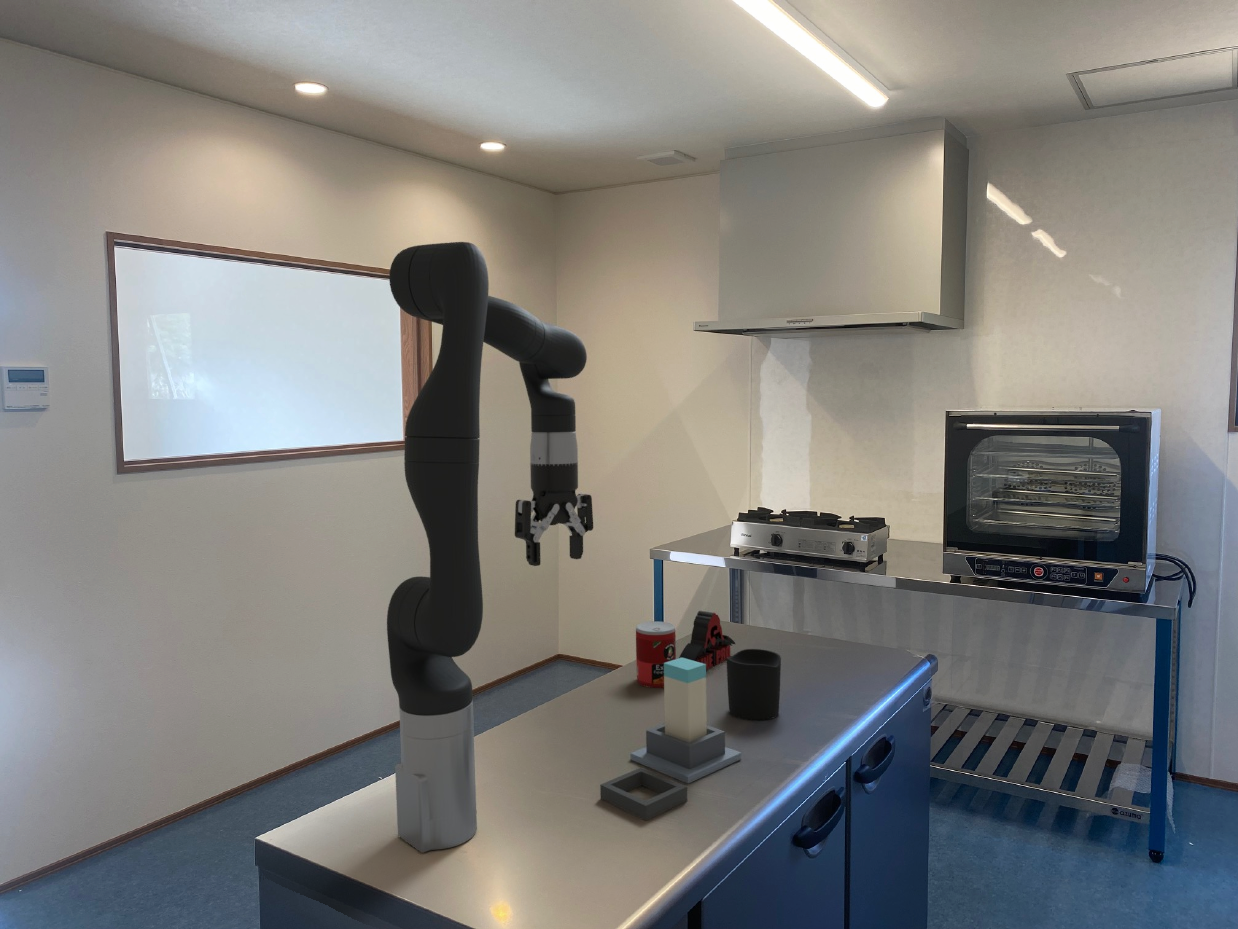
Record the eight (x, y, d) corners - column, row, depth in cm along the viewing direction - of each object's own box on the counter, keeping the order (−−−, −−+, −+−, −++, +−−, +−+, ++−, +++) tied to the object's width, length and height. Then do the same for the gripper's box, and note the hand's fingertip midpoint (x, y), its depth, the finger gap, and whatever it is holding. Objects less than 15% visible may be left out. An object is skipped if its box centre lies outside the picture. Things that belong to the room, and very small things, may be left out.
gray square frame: (646, 820, 117) (645, 805, 116) (600, 798, 123) (600, 784, 123) (687, 800, 122) (686, 786, 122) (641, 780, 129) (641, 767, 128)
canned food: (656, 691, 167) (655, 634, 166) (628, 681, 173) (627, 626, 172) (684, 681, 172) (684, 626, 171) (656, 672, 178) (655, 619, 177)
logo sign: (691, 678, 174) (690, 622, 173) (676, 675, 176) (676, 620, 175) (735, 655, 189) (735, 604, 188) (721, 652, 191) (721, 602, 190)
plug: (689, 761, 132) (687, 670, 131) (665, 752, 136) (663, 663, 135) (706, 753, 135) (705, 664, 134) (683, 744, 139) (681, 657, 138)
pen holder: (788, 720, 151) (788, 662, 150) (735, 724, 150) (735, 666, 149) (770, 701, 160) (770, 647, 160) (720, 705, 159) (719, 650, 158)
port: (688, 783, 127) (687, 753, 127) (630, 759, 136) (630, 731, 136) (741, 759, 135) (740, 730, 135) (683, 737, 144) (683, 710, 144)
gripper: (533, 463, 133) (535, 571, 134) (603, 459, 142) (604, 559, 143) (503, 462, 138) (505, 565, 139) (572, 457, 148) (574, 553, 149)
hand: (555, 561), depth 141 cm, fingers open, 8 cm apart
